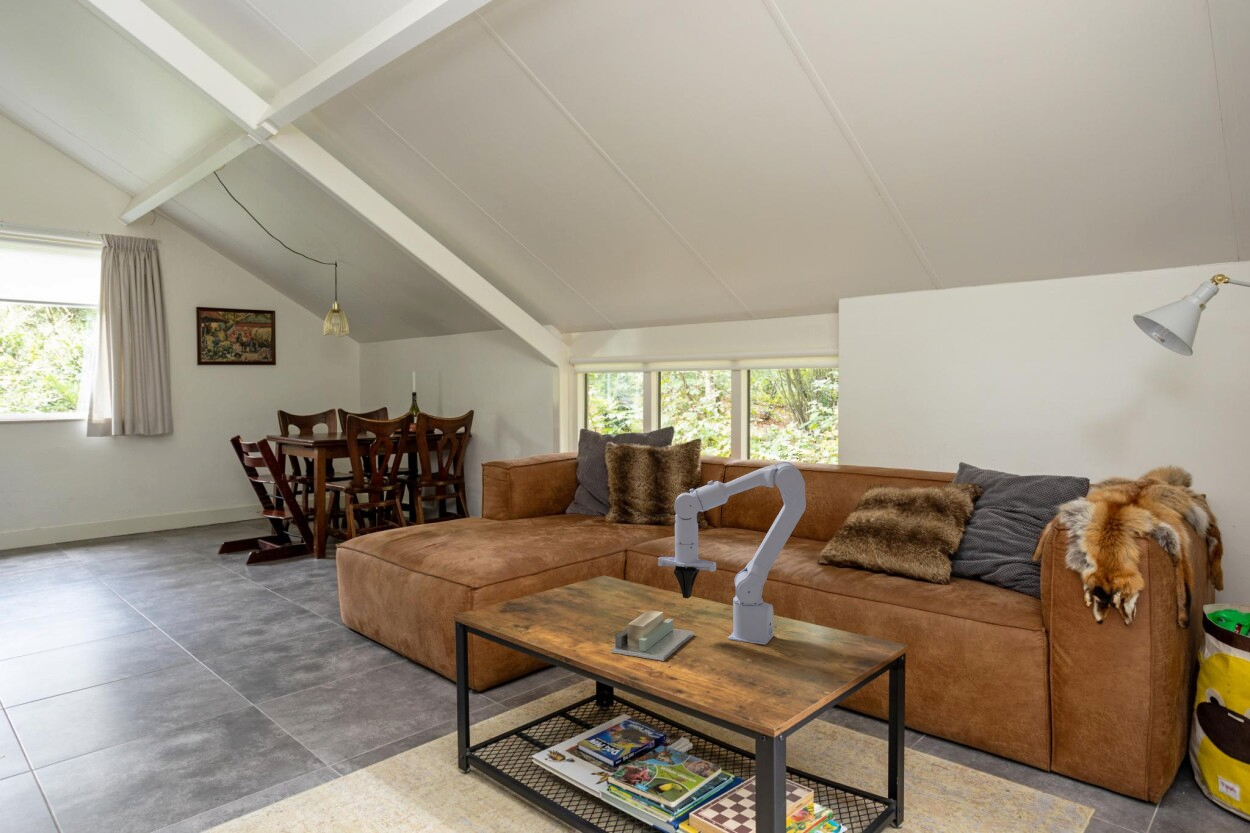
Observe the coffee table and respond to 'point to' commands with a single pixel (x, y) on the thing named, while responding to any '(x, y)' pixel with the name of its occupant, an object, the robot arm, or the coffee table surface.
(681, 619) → the coffee table surface
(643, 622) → the wood bar
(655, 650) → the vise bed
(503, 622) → the coffee table surface
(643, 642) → the bar
